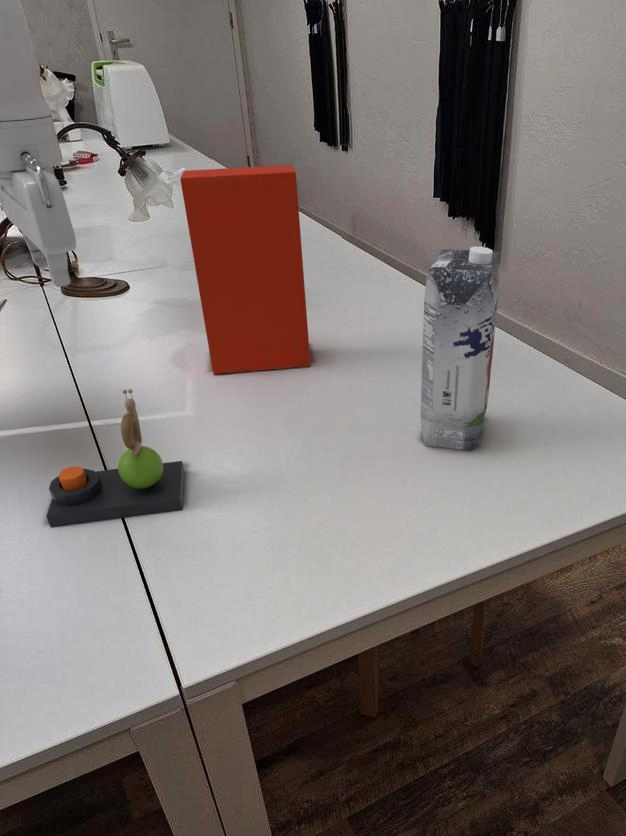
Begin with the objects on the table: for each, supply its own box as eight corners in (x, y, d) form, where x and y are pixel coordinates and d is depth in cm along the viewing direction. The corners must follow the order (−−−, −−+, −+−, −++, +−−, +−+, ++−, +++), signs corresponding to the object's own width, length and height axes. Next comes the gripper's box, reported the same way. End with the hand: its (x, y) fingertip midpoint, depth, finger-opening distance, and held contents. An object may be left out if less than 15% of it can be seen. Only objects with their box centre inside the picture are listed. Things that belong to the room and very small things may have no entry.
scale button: (60, 492, 81) (56, 480, 80) (64, 479, 84) (60, 467, 83) (85, 489, 82) (81, 477, 81) (88, 476, 84) (85, 464, 83)
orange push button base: (50, 528, 81) (42, 505, 78) (63, 487, 88) (55, 465, 86) (182, 510, 83) (177, 488, 81) (184, 472, 90) (179, 450, 88)
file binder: (214, 357, 122) (183, 169, 103) (307, 349, 124) (292, 164, 105) (213, 375, 115) (180, 178, 97) (310, 367, 117) (295, 172, 99)
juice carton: (416, 449, 93) (421, 258, 78) (430, 414, 102) (437, 235, 86) (478, 457, 91) (496, 262, 76) (487, 420, 100) (505, 238, 84)
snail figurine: (168, 467, 88) (149, 386, 81) (165, 494, 83) (145, 410, 76) (127, 471, 87) (104, 390, 80) (121, 499, 82) (96, 415, 75)
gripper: (71, 157, 66) (103, 292, 74) (26, 135, 79) (57, 251, 87) (3, 163, 63) (45, 304, 71) (-31, 139, 76) (7, 259, 84)
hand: (52, 274), depth 79 cm, fingers open, 8 cm apart
